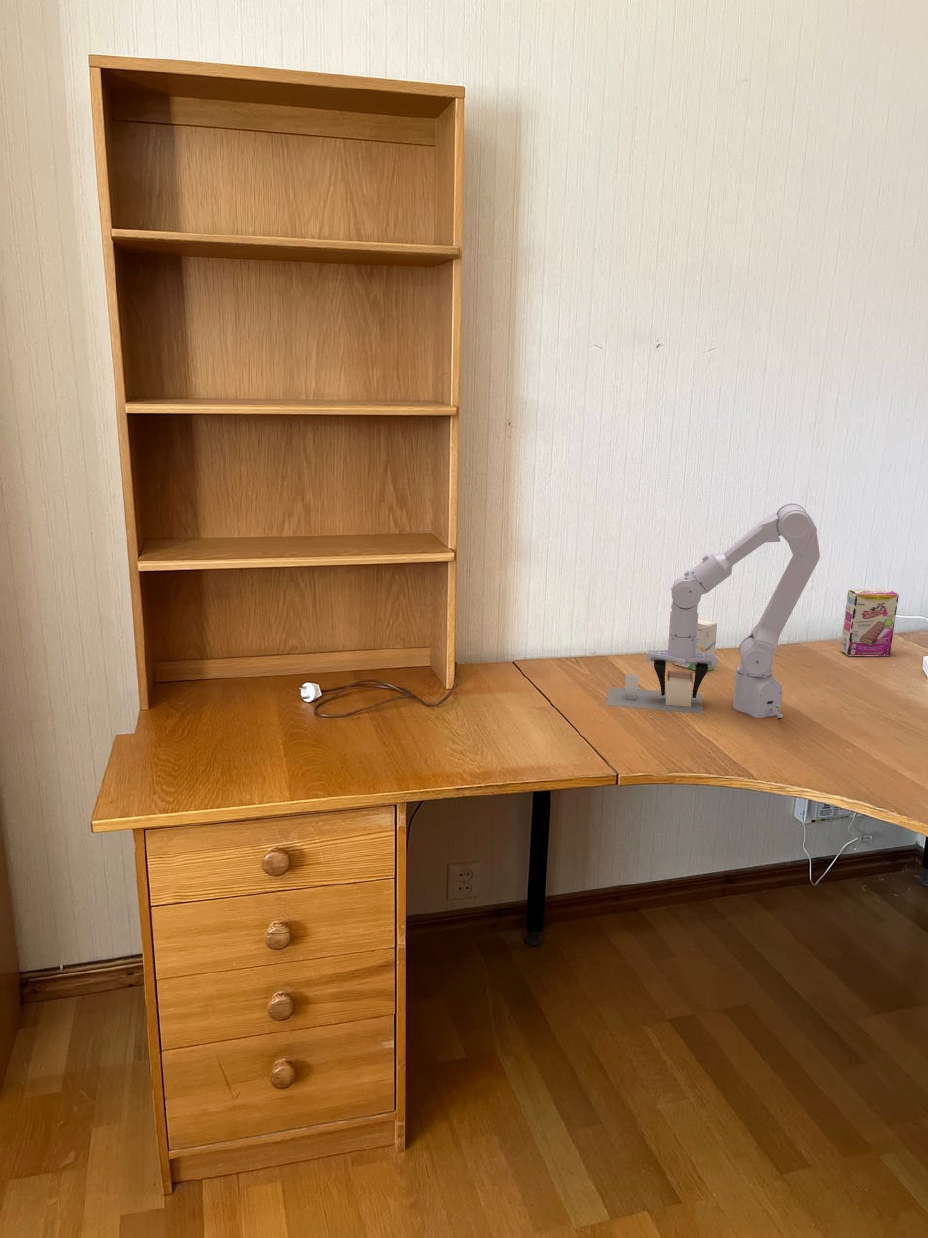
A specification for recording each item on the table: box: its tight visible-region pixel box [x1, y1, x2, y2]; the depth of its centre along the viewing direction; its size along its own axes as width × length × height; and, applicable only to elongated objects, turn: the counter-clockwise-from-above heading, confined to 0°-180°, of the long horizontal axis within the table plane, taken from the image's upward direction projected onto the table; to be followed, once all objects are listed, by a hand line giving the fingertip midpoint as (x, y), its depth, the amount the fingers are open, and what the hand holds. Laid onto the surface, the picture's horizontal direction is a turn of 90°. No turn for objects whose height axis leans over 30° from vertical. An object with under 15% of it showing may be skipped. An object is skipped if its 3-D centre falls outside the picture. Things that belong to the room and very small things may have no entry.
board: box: [605, 686, 703, 714], centre depth 208 cm, size 20×12×1 cm, turn 77°
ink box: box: [674, 617, 718, 672], centre depth 232 cm, size 8×5×12 cm, turn 40°
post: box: [624, 673, 639, 700], centre depth 208 cm, size 3×3×6 cm
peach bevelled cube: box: [665, 669, 694, 707], centre depth 206 cm, size 5×5×6 cm
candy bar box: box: [840, 589, 900, 656], centre depth 243 cm, size 11×5×16 cm, turn 94°
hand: (678, 695), depth 206 cm, fingers open, 6 cm apart
